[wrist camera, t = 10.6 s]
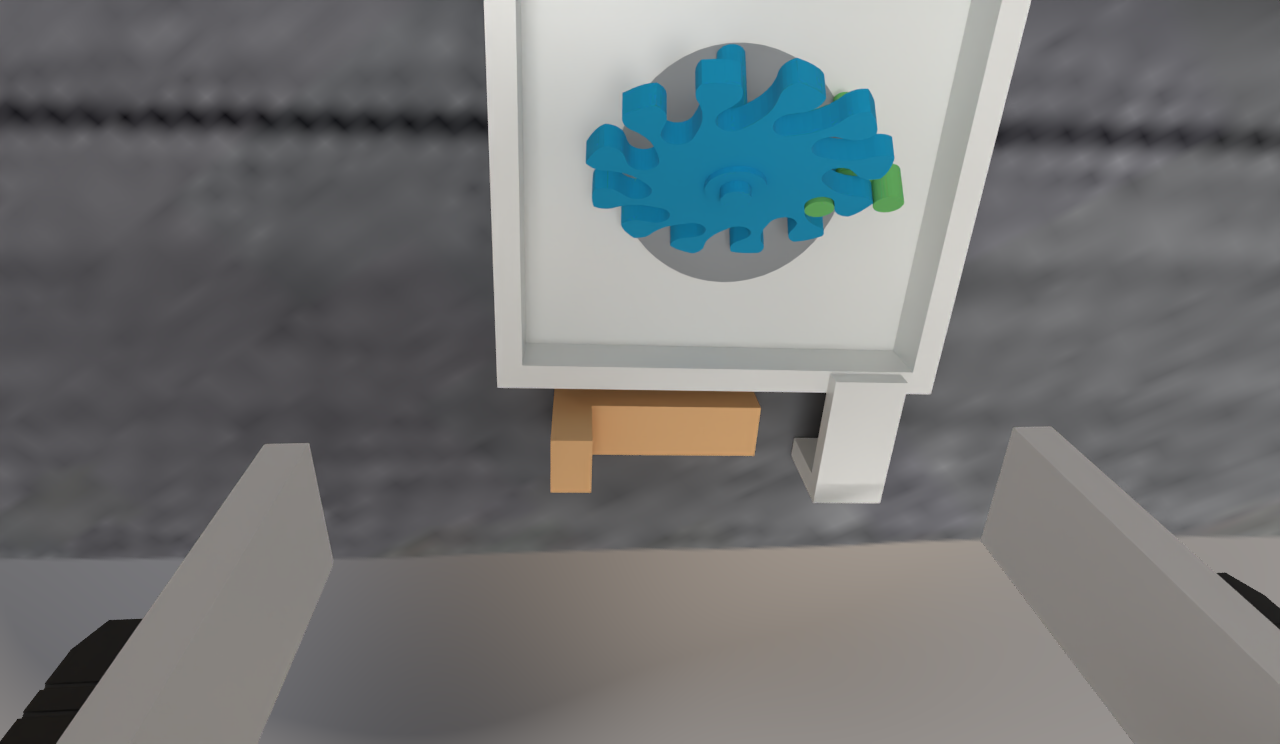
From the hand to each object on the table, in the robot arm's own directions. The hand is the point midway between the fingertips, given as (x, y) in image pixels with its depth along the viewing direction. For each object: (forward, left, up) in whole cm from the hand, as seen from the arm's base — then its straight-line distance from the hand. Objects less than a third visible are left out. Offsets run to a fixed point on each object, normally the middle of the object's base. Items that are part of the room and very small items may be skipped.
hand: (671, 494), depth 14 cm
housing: (+4, 0, -18) cm, 18 cm away
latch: (+2, -8, -18) cm, 20 cm away
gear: (+4, +3, -17) cm, 18 cm away
